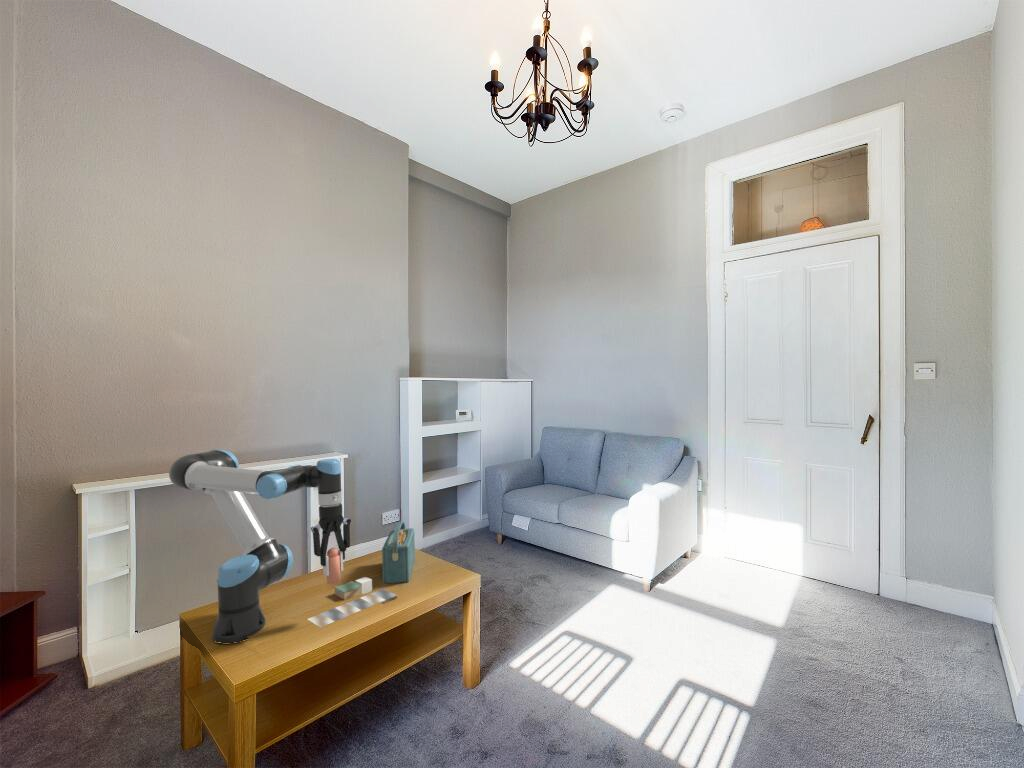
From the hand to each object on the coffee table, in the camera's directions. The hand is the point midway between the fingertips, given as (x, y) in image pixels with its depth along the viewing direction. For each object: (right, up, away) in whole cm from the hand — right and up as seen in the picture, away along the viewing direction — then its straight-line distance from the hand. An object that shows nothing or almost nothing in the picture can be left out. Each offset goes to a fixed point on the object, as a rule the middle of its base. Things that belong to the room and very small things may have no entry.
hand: (333, 572), depth 161 cm
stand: (-1, -16, +17) cm, 23 cm away
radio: (+13, -16, +41) cm, 46 cm away
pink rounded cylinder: (0, -3, 0) cm, 3 cm away
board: (+5, -16, +7) cm, 18 cm away
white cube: (+2, -14, +20) cm, 25 cm away
